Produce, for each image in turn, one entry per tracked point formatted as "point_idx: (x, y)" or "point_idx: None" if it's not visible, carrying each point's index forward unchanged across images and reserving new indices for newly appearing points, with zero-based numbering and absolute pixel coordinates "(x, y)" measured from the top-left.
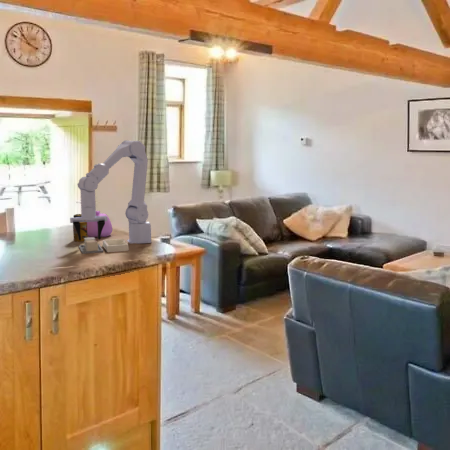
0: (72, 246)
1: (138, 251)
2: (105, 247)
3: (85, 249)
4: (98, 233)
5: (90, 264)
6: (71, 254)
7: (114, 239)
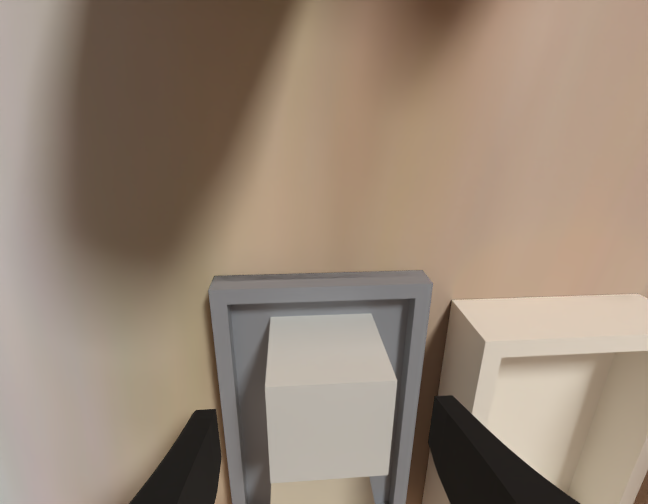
0: (136, 157)
1: None
2: None
3: None
4: (461, 495)
5: None
6: None
7: (614, 342)
